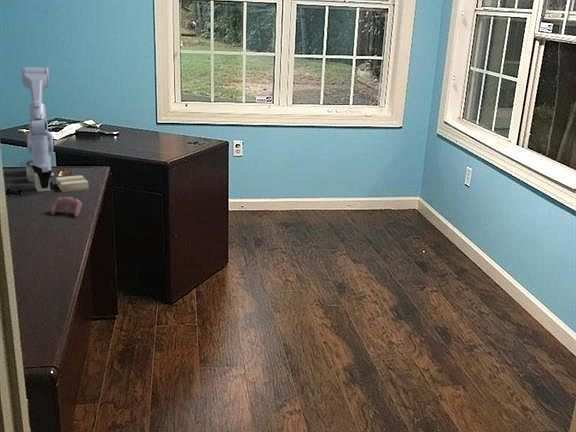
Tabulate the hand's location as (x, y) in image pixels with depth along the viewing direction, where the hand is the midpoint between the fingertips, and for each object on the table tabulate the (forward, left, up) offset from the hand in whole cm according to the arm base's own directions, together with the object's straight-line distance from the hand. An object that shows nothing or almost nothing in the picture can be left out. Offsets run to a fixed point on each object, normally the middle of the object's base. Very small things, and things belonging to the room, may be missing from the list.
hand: (42, 185), depth 234 cm
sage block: (0, 0, -2) cm, 2 cm away
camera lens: (-12, 0, -2) cm, 12 cm away
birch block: (+1, +11, -2) cm, 11 cm away
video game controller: (+30, +2, -2) cm, 30 cm away
